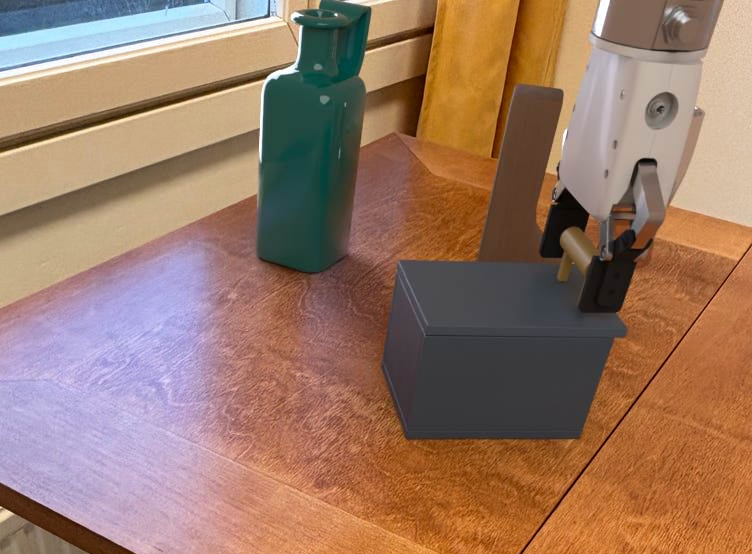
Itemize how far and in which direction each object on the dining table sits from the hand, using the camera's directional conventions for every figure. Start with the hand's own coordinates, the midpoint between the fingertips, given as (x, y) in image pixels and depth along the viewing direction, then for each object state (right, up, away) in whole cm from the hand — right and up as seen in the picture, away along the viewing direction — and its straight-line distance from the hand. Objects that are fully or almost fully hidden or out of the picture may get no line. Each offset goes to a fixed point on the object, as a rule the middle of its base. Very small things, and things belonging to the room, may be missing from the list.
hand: (576, 282), depth 70 cm
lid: (-5, -1, +1) cm, 6 cm away
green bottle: (-20, +14, +27) cm, 37 cm away
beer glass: (+16, +15, +31) cm, 38 cm away
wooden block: (+1, +8, +23) cm, 25 cm away
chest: (-6, -8, +7) cm, 12 cm away
